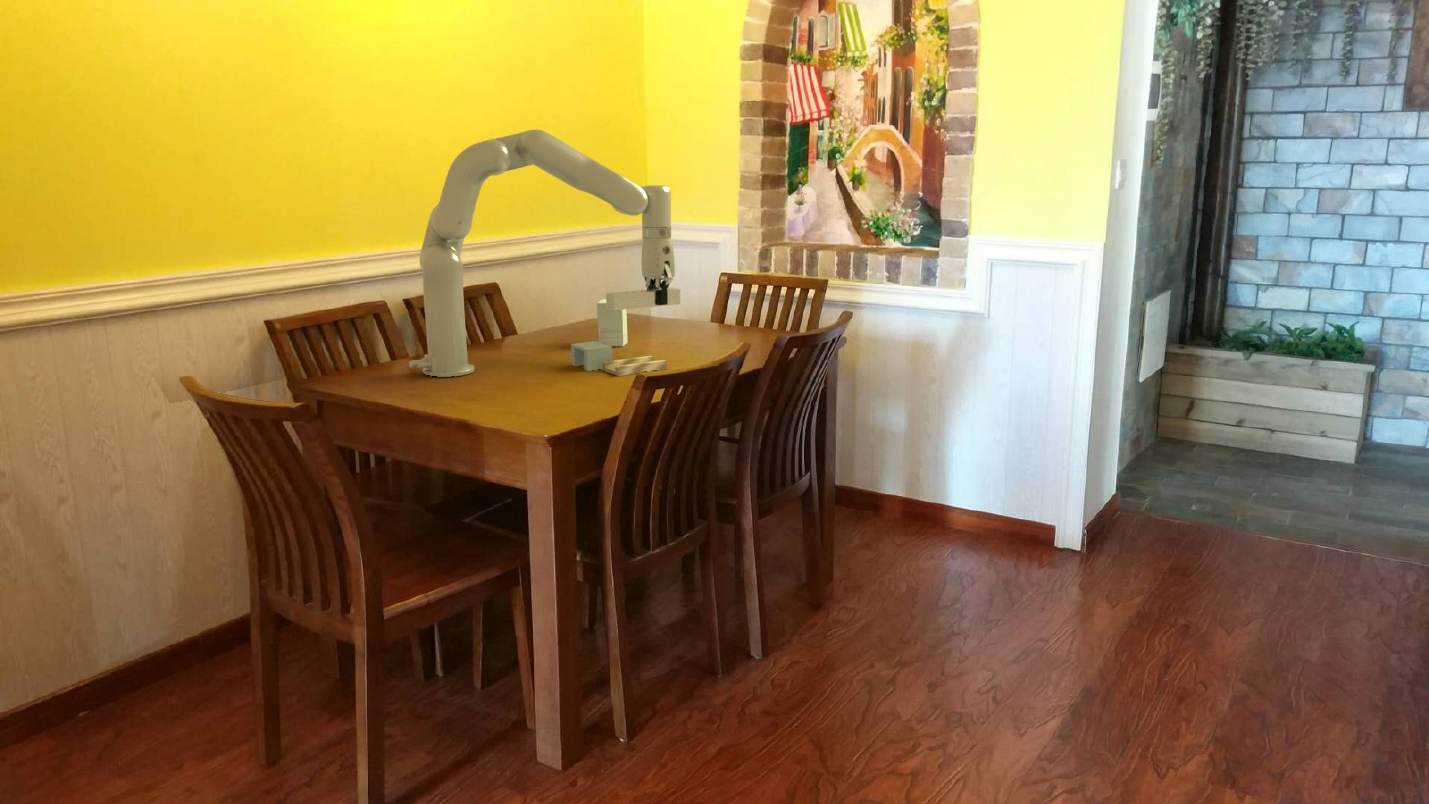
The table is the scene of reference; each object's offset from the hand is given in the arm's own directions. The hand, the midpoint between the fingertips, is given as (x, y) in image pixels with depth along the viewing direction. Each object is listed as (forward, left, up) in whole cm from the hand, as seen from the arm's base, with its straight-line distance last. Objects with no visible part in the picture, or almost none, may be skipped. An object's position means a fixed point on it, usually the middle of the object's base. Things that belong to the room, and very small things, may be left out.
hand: (657, 302), depth 274 cm
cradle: (-13, -10, -15) cm, 22 cm away
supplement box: (-1, +24, -15) cm, 28 cm away
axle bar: (-4, 0, -1) cm, 4 cm away
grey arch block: (-20, 0, -15) cm, 25 cm away
